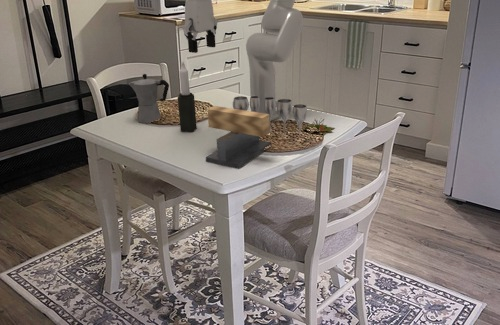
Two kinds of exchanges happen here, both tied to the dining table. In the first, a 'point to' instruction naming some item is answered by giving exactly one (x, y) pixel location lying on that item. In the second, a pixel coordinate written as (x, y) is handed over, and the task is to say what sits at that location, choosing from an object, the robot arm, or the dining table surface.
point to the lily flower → (321, 127)
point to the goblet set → (269, 105)
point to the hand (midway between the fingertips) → (202, 49)
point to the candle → (186, 103)
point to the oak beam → (238, 121)
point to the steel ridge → (237, 149)
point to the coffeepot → (148, 98)
